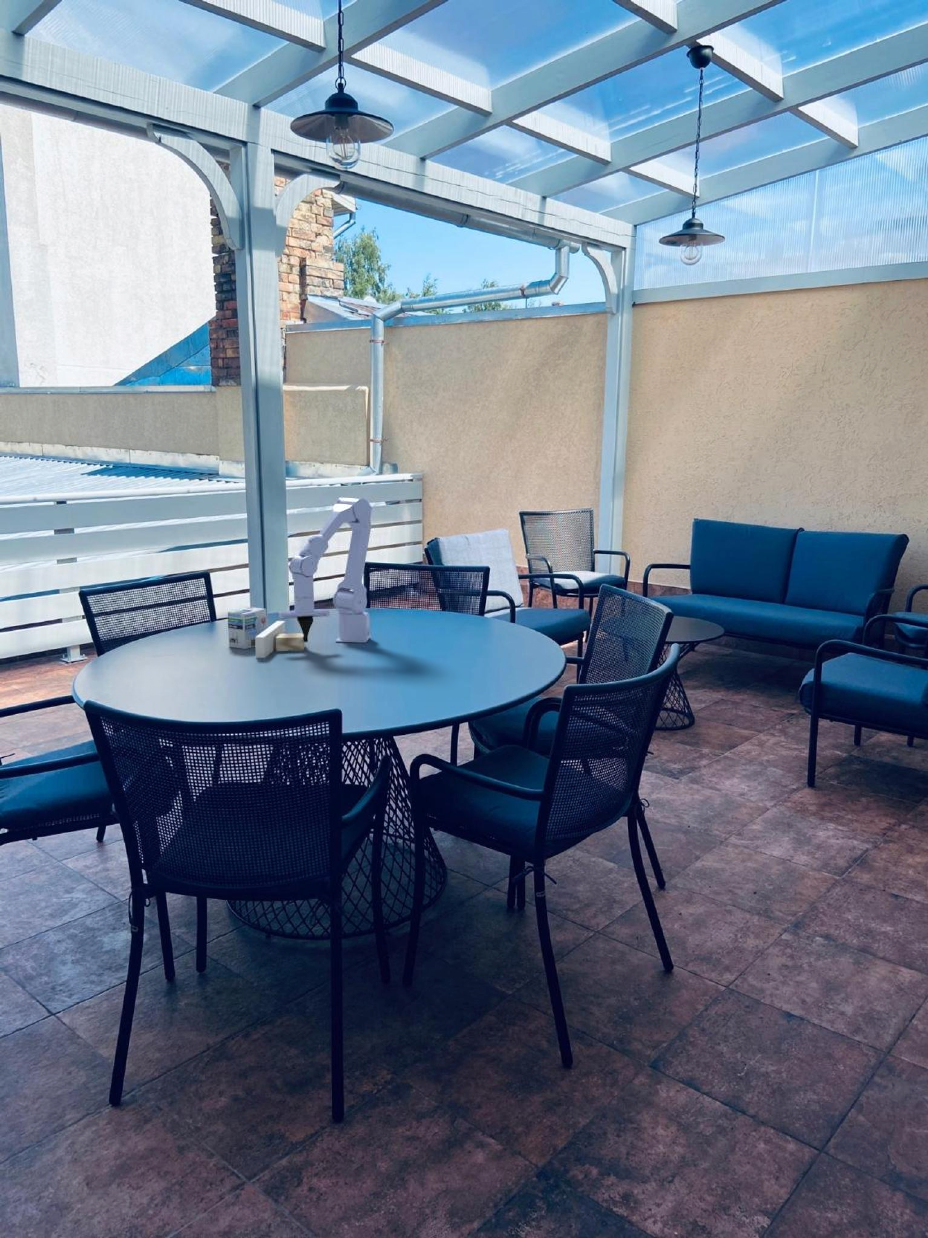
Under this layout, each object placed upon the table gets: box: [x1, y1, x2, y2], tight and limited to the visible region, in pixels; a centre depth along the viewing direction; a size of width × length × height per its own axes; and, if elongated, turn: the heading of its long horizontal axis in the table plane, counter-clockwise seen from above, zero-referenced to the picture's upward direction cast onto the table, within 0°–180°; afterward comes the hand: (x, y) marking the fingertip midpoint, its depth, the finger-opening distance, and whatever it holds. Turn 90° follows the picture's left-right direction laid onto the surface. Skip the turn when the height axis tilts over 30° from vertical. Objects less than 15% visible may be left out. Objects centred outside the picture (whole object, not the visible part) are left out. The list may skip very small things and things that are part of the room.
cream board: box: [254, 620, 287, 659], centre depth 267 cm, size 2×24×6 cm, turn 177°
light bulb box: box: [227, 606, 268, 650], centre depth 271 cm, size 11×7×11 cm, turn 154°
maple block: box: [275, 632, 306, 652], centre depth 267 cm, size 8×6×4 cm
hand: (305, 641), depth 266 cm, fingers closed, pressing on maple block
